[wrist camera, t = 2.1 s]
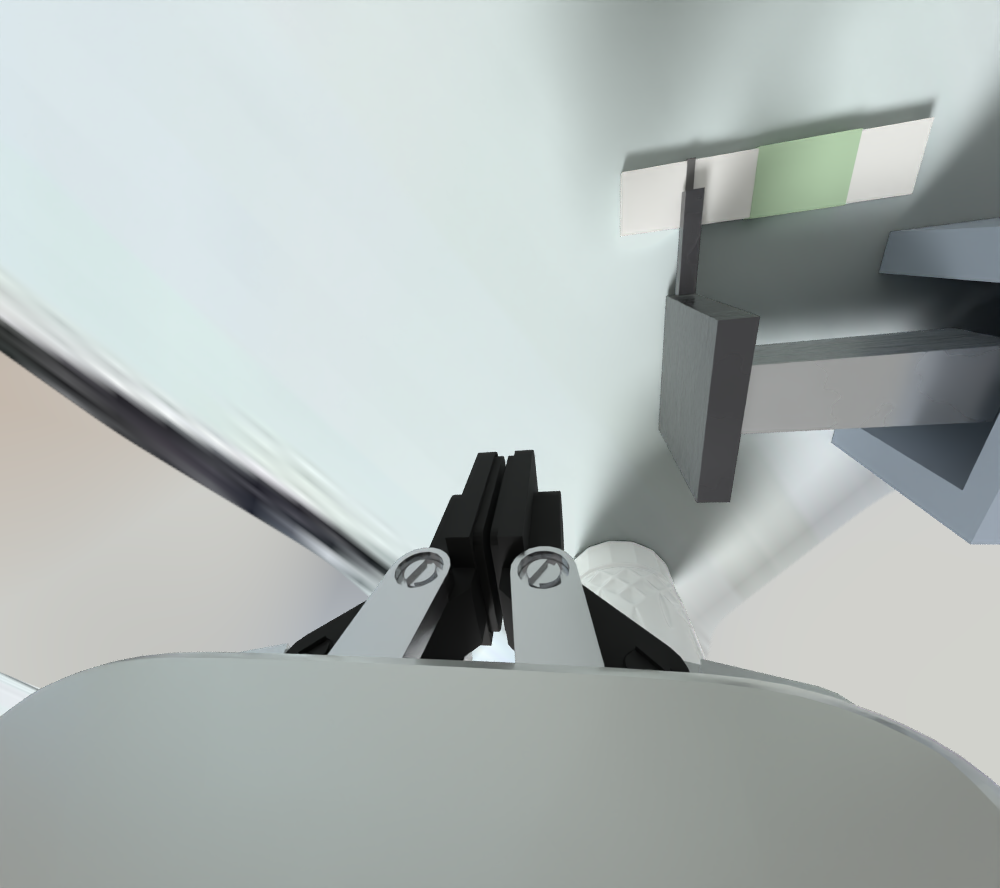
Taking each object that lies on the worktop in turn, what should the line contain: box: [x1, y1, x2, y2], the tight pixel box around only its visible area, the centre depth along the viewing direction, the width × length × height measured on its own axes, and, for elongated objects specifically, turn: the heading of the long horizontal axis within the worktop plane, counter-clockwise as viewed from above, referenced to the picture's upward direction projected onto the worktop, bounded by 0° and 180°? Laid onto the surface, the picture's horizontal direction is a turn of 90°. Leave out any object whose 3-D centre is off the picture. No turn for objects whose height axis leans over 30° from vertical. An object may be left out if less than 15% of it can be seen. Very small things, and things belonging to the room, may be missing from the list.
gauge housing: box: [620, 117, 1000, 544], centre depth 14 cm, size 21×14×8 cm, turn 98°
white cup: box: [574, 541, 706, 665], centre depth 23 cm, size 8×8×10 cm
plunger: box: [659, 187, 1000, 503], centre depth 15 cm, size 10×11×7 cm
